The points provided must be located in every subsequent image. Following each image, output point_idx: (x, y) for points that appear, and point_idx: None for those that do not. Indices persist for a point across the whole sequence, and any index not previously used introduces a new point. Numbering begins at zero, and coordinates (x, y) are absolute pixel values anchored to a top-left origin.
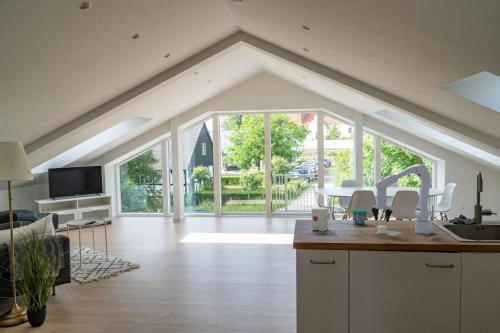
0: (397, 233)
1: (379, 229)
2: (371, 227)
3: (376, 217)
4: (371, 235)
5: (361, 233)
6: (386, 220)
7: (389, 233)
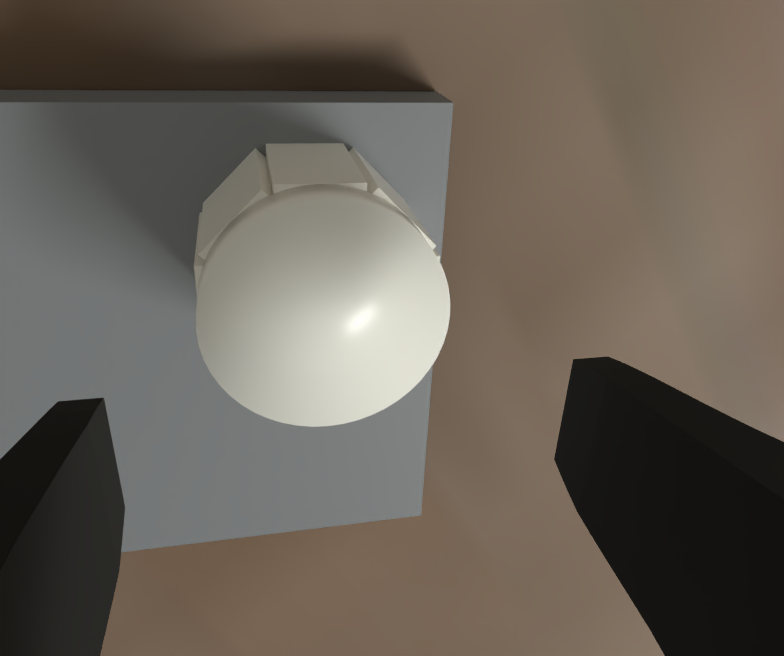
0: (13, 434)
1: (325, 172)
2: None
3: (629, 465)
4: (484, 54)
5: (749, 107)
6: (64, 423)
7: (141, 317)
